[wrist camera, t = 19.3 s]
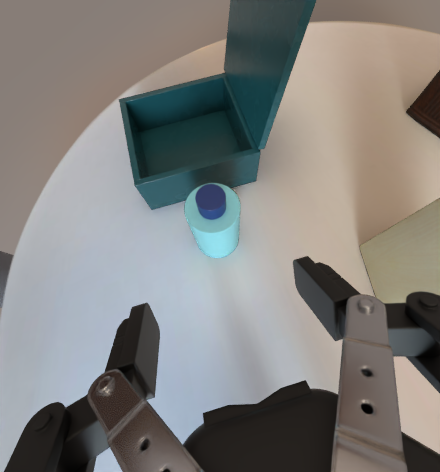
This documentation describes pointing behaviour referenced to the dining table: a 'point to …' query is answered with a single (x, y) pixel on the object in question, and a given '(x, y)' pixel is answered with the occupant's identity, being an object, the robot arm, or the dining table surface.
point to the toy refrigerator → (406, 256)
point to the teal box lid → (263, 56)
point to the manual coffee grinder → (428, 106)
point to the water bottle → (214, 218)
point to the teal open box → (188, 140)
